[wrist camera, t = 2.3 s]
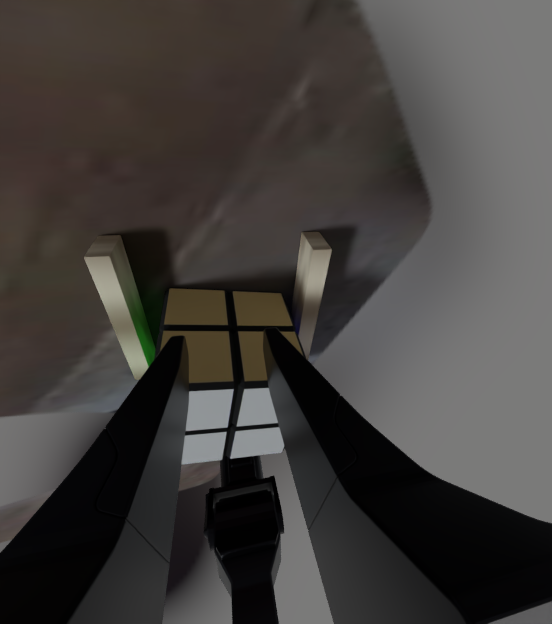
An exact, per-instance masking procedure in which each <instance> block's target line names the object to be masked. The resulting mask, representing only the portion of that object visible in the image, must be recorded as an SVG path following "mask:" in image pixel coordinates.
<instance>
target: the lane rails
mask: <svg viewBox="0 0 552 624" xmlns="http://www.w3.org/2000/svg"><path fill="white" fill-rule="evenodd" d="M331 252H332V249H331V247H330V246H329V245H328V243H327V242H326V241H325V239H324V238H323V237H322V235H321V234H320V233H319V232H302V234H301V242H300V249H299V257H298V264H297V272H296V279H295V287H294V294H293V302H292V309H291V317H292V320H293V322H294V325H295V328H296V330H295V332H296V333H297V334H298V336H299V339H300V342H301V345H302V347H303V350H304V353H305V356H306V358H307V360H308V358H309V354H310V349H311V344H312V340H313V335H314V330H315V326H316V321H317V316H318V312H319V307H320V303H321V298H322V293H323V289H324V284H325V279H326V275H327V270H328V265H329V261H330V256H331ZM84 259H85V261H86V264H87V266H88V268H89V271H90V273H91V275H92V278H93V280H94V283H95V285H96V287H97V290H98V292H99V294H100V297H101V299H102V302H103V304H104V306H105V309H106V311H107V314H108V316H109V318H110V321H111V323H112V325H113V328H114V330H115V333H116V335H117V337H118V340H119V342H120V344H121V347H122V349H123V352H124V354H125V356H126V359H127V361H128V364H129V366H130V368H131V371H132V373H133V375H134V378H135V380H138V379H140V378H141V377H142V376H143V374H144V373H145V372H146V370H147V369H148V367H149V366H150V365H151V363H152V362H153V361H154V357H155V351H156V349H155V345H154V342H153V339H152V336H151V332H150V329H149V326H148V323H147V319H146V316H145V313H144V310H143V306H142V303H141V300H140V297H139V293H138V290H137V287H136V284H135V280H134V277H133V274H132V271H131V267H130V264H129V261H128V258H127V254H126V251H125V248H124V245H123V241H122V238H121V235H105V236H98V237H97V238H96V240H95V241H94V243H93V244H92V246H91V247H90V249H89V250H88V252H87V253H86V255H85V256H84Z"/></svg>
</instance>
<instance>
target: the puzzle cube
mask: <svg viewBox="0 0 552 624" xmlns="http://www.w3.org/2000/svg"><path fill="white" fill-rule="evenodd" d="M272 327H275V328H277V329H278V330H279V331H280V332H281V333H282V334H283V335H284V336H285V337H286V338H287V339H288V340H289V341H290V343H291V344H292V345H293V346H294V347H295V348H296V349H297V350H298V351H299V352H300V353H301V354H302V355H303V356H304V357H305V358H306V356H305V353H304V350H303V347H302V345H301V342H300V339H299V336H298V334H297V333H296V332H295V330H296V328H295V325H294V322H293V320H292V317H291V314H290V312H289V309H288V306H287V304H286V301H285V298H284V296H283V295H282V294H281V293H266V292H242V291H232V292H230V293H229V294H228V293H226V292H225V291H222V290H198V289H174V288H169V289H168V290H167V291H166V292H165V298H164V304H163V309H162V315H161V321H160V327H159V330H160V334H158V340H157V345H156V351H155V357H154V359H155V358H156V356H157V355H158V354H159V352H160V351H161V350H162V348H163V347H164V345H165V344H166V343H167V341H168V340H169V339H170V337H172V336H179V335H183V336H185V339H186V344H187V348H188V354H189V406H188V415H187V423H186V431H185V439H184V447H183V455H182V464H191V463H199V462H208V461H216V460H222V459H223V458H224V457H225V456H227V457H228V458H230V459H233V458H241V457H250V456H258V455H266V454H275V453H282V451H283V450H284V449H285V446H284V442H283V439H282V435H281V432H280V428H279V424H278V421H277V417H276V414H275V410H274V407H273V403H272V399H271V396H270V391H269V386H268V380H267V373H266V366H265V360H264V353H263V333H264V329H265V328H272ZM306 359H307V358H306ZM182 464H181V465H182Z"/></svg>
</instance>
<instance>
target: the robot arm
mask: <svg viewBox="0 0 552 624" xmlns="http://www.w3.org/2000/svg"><path fill="white" fill-rule="evenodd" d="M263 353H264V360H265V366H266V373H267V380H268V386H269V391H270V396H271V399H272V403H273V407H274V410H275V414H276V417H277V421H278V424H279V428H280V432H281V435H282V439H283V442H284V446H285V450H286V453H287V457H288V460H289V464H290V467H291V471H292V474H293V478H294V481H295V485H296V489H297V493H298V496H299V500H300V503H301V507H302V510H303V514H304V518H305V521H306V525H307V528H308V530H309V531H308V532H309V536H310V539H311V543H312V546H313V550H314V553H315V557H316V561H317V564H318V568H319V572H320V575H321V579H322V582H323V586H324V589H325V593H326V597H327V600H328V603H329V607H330V611H331V615H332V618H333V622H334V624H552V523H548V522H544V521H541V520H537V519H535V518H532V517H529V516H527V515H524V514H522V513H519V512H517V511H514V510H512V509H510V508H507V507H505V506H503V505H501V504H498V503H496V502H493V501H491V500H489V499H486V498H484V497H482V496H479V495H477V494H475V493H472V492H470V491H467V490H465V489H463V488H460V487H458V486H456V485H453V484H451V483H448V482H446V481H444V480H442V479H440V478H438V477H436V476H434V475H432V474H431V473H429V472H428V471H426V470H424V469H423V468H422V467H420V466H419V465H418V464H417V463H415V462H414V461H413V460H412V459H411V458H409V457H408V456H407V455H406V454H405V453H404V452H402V451H401V450H400V449H399V448H398V447H397V446H395V445H394V444H393V443H392V442H391V441H390V440H388V439H387V438H386V437H385V436H384V435H383V434H381V433H380V432H379V431H378V430H377V429H376V428H374V427H373V426H372V425H371V424H370V423H369V422H368V421H367V420H366V419H364V418H363V417H362V416H361V415H360V414H359V413H358V412H357V411H356V410H355V409H354V408H353V407H352V406H351V405H350V404H349V403H348V402H347V401H346V400H345V399H344V398H343V397H342V396H340V394H339V393H338V392H337V391H336V389H335V388H334V387H333V386H332V385H331V384H330V383H329V382H328V381H327V380H326V379H325V378H324V377H323V376H322V375H321V374H320V373H319V372H318V371H317V370H316V369H315V368H314V366H313V365H312V364H311V363H310V362H309V361H308V360H307V359H306V358H305V357H304V356H303V355H302V354H301V353H300V352H299V351H298V350H297V349H296V348H295V347H294V346H293V345H292V344H291V343H290V341H289V340H288V339H287V338H286V337H285V336H284V335H283V334H282V333H281V332H280V331H279V330H278V329H277V328H275V327H272V328H265V329H264V333H263ZM188 406H189V354H188V348H187V344H186V339H185V336H183V335H179V336H172V337H170V339H169V340H168V341H167V343H166V344H165V345H164V347H163V348H162V350H161V351H160V352H159V354H158V355H157V356H156V358H155V359H154V361H153V362H152V363H151V365H150V366H149V367H148V369H147V370H146V372H145V373H144V374H143V376H142V377H141V378H140V380H139V381H138V383H137V384H136V385H135V387H134V388H133V390H132V391H131V392H130V394H129V395H128V396H127V398H126V399H125V401H124V402H123V403H122V405H121V406H120V407H119V409H118V410H117V412H116V413H115V414H114V416H113V417H112V419H111V420H110V421H109V423H108V424H107V425H106V427H105V428H106V429H104V430H103V431H102V432H101V433H100V435H99V437H98V438H97V439H96V440H95V442H94V443H93V444H92V446H91V447H90V449H89V450H88V451H87V452H86V454H85V455H84V456H83V458H82V459H81V460H80V461H79V463H78V464H77V465H76V466H75V467H74V469H73V470H72V471H71V472H70V474H69V475H68V476H67V477H66V478H65V479H64V481H63V482H62V483H61V484H60V485H59V486H58V488H57V489H56V490H55V491H54V492H53V493H52V494H51V496H50V497H49V498H48V499H47V500H46V501H45V503H44V504H43V505H42V506H41V507H40V508H39V509H38V511H37V512H36V513H35V514H34V515H33V516H32V518H31V519H30V520H29V521H28V522H27V523H26V524H25V526H24V527H23V528H22V529H21V530H20V531H19V533H18V534H17V535H16V536H15V537H14V538H13V539H12V541H11V542H10V543H9V544H8V545H7V546H6V547H5V549H4V550H3V551H2V552H1V553H0V624H162V619H163V611H164V603H165V595H166V587H167V579H168V571H169V561H170V553H171V545H172V537H173V528H174V521H175V513H176V504H177V496H178V488H179V480H180V472H181V464H182V455H183V447H184V439H185V431H186V423H187V415H188ZM220 471H221V487H219V488H210V489H209V493H208V494H206V511H205V523H204V536H205V537H206V538H207V539H208V543H209V545H210V550H211V551H212V550H214V551H215V556H216V562H217V568H218V573H219V577H220V579H221V581H222V582H223V584H224V586H225V587H226V589H227V591H228V593H229V594H230V596H231V598H232V616H233V617H232V620H233V624H279V622H278V616H277V608H276V602H275V595H274V588H273V586H274V583H275V580H276V576H277V573H278V569H279V565H280V562H281V539H280V534H283V533H284V525H283V516H282V510H281V505H280V500H279V496H278V491H277V487H276V482H275V477H274V476H270V477H269V478H263V472H262V466H261V460H260V455H258V456H250V457H241V458H233V459H230V458H228V457H227V456H225V457H224V458H223V459H222V460H220Z"/></svg>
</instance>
